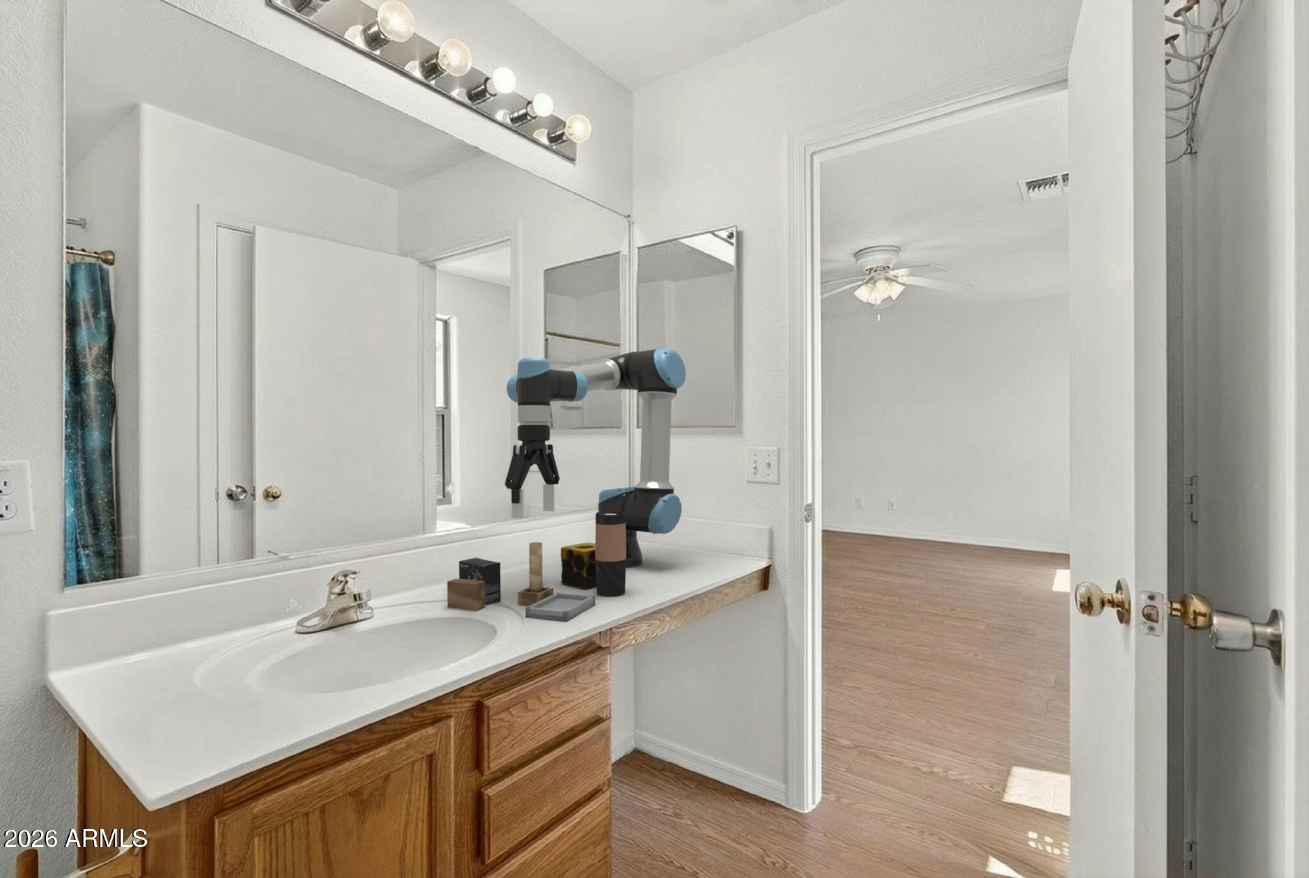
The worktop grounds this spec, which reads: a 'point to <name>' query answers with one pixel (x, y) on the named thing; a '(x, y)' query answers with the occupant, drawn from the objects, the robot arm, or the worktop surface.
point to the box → (483, 576)
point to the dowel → (535, 567)
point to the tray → (560, 606)
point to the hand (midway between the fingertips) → (533, 514)
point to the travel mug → (610, 553)
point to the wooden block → (466, 594)
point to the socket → (533, 596)
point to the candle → (579, 565)
